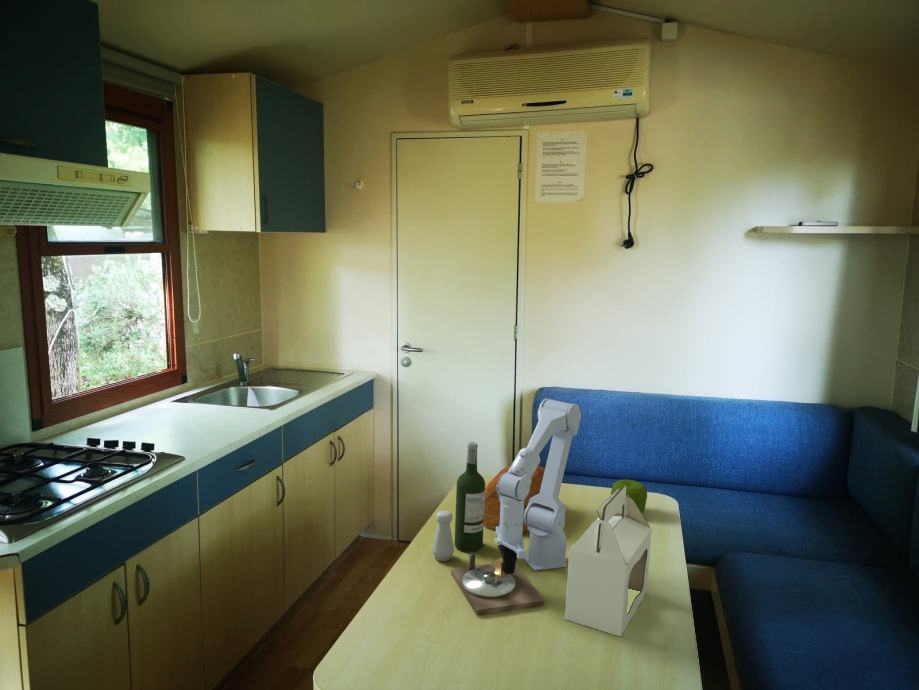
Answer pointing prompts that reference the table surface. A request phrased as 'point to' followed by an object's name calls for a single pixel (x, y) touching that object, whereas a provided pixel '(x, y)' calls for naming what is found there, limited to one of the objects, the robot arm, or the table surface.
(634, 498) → the apple
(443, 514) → the salt shaker
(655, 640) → the table surface
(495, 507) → the bread
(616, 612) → the gable box
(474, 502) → the wine bottle
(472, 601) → the walnut board
